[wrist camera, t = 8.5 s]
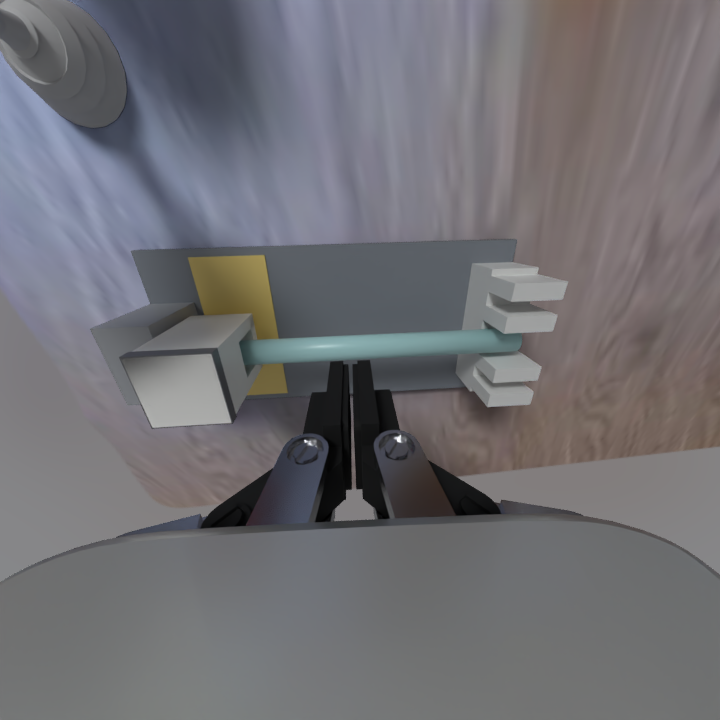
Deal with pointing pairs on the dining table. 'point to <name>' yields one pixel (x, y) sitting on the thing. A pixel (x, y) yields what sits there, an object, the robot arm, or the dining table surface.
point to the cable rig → (353, 313)
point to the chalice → (64, 59)
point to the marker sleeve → (193, 371)
